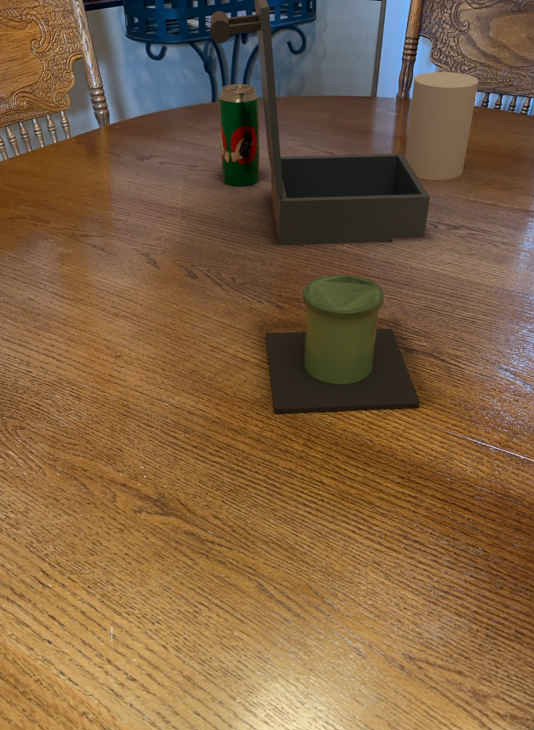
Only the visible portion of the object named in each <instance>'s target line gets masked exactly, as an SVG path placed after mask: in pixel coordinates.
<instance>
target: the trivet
mask: <svg viewBox="0 0 534 730" xmlns="http://www.w3.org/2000/svg"><path fill="white" fill-rule="evenodd" d="M265 338H266V341H265V342H266V348H267V349H266V350H267V358H268V367H269V375H270V383H271V391H272V400H273V402H272V403H273V409H274V414H275V415H276V414H297V413H298V414H299V413H301V414H302V413H322V412H323V413H324V412H343V411H347V412H348V411H369V410H370V411H371V410H373V411H374V410H393V409H416V408H417V409H418V408H420V406H421V402H420V399H419V397H418V396H419V395H417V391H416V389H415V386H414V384H413V381H412V378H411V376H410V373H409V370H408V367H407V365H406V362H405V360H404V357H403V354H402V352H401V349H400V346H399V344H398V341H397V339H396V336H395V333H394V331H393V328H377V331H376V340H375V349H374V357H373V366H372V371H371V373H370V374H369V375H368V376H367V377H366V378H364V379H363V380H361V381H358V382H355V383H351V384H330V383H325V382H322V381H319V380H317V379H315V378H313V377H312V376H311V375H310V374H308V372H307V371H306V369H305V366H304V356H305V331H291V332H290V331H288V332H266V333H265Z"/></svg>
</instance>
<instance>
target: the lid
mask: <svg viewBox="0 0 534 730" xmlns="http://www.w3.org/2000/svg"><path fill="white" fill-rule="evenodd" d="M254 9H255V10H254V11H255V14H248V15H239V16H232V17H231V16H230V17H229V16H228V14H227V13H226V12H224V11H222V10H217V11H215V12H214V13H212V14H211V17H210V19H209V34H210V36H211V37H210V38H212V40H213V41H214V42H215V43H217V44H224V43H226V42H227V41H228V40H229V38H230V36H231V35H235V34H245V33H252V32H257V42H258V43H257V45H258V55H259V66H260V77H261V88H262V99H263V112H264V123H265V134H266V145H267V147H266V148H267V155H268V160H269V165H270V171H272V176H273V181H274V187H275V192H276V196H277V197H279V196H283V195H284V194H283V181H282V168H281V157H282V156H281V144H280V143H281V141H280V131H279V129H280V128H279V118H278V104H277V92H276V79H275V67H274V53H273V39H272V27H271V13H270V12H271V11H270V6H269V4H268V1H267V0H254Z"/></svg>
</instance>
